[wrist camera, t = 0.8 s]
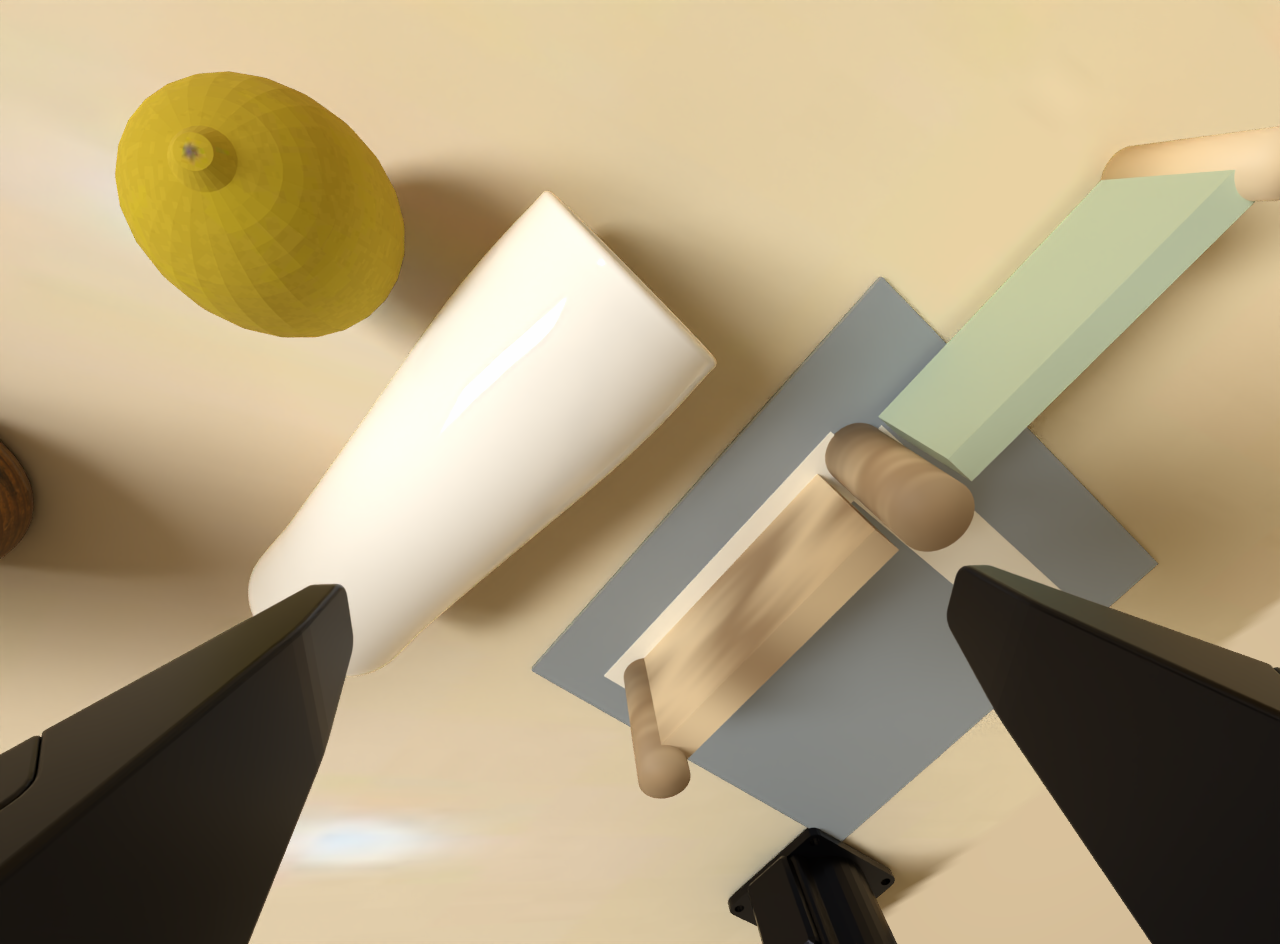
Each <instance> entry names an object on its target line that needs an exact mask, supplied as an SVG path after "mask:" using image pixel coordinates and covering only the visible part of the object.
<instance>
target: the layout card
mask: <svg viewBox="0 0 1280 944" xmlns="http://www.w3.org/2000/svg"><path fill="white" fill-rule="evenodd" d="M945 345H946V343H945V342H944V341H943V340H942V339H941V338H940V337H939V336H938V335H937V333H936V332H935V331H934V330H933V329H932V328H931V327H930V326H929V325H928V324H927V323H926V322H925V321H924V320H923V319H922V318H921V317H920V316H919V315H918V314H917V313H916V312H915V311H914V310H913V309H912V308H911V306H910V305H909V304H908V303H907V302H906V301H905V300H904V299H903V298H902V297H901V296H900V295H899V294H898V293H897V292H896V291H895V290H894V289H893V288H892V287H891V286H890V285H889V284H888V283H887V282H886V281H885V279H884V278H883V277H879V278H878V279H877V280H876V281H875V282H874V284H873V285H872V286H871V287H870V288H869V289H868V290H867V291H866V293H865V294H864V295H863V296H862V297H861V298H860V299H859V300H858V302H857V303H856V304H855V305H854V306H853V307H852V308H851V309H850V310H849V312H848V313H847V314H846V315H845V316H844V317H843V318H842V319H841V321H840V322H839V323H838V324H837V325H836V326H835V327H834V328H833V330H832V331H831V332H830V333H829V334H828V335H827V336H826V337H825V339H824V340H823V341H822V342H821V343H820V344H819V345H818V346H817V348H816V349H815V350H814V351H813V352H812V353H811V354H810V355H809V357H808V358H807V359H806V360H805V361H804V362H803V363H802V364H801V366H800V367H799V368H798V369H797V370H796V371H795V372H794V373H793V375H792V376H791V377H790V378H789V379H788V380H787V381H786V382H785V384H784V385H783V386H782V387H781V388H780V389H779V390H778V391H777V393H776V394H775V395H774V396H773V397H772V398H771V399H770V400H769V402H768V403H767V404H766V405H765V406H764V407H763V408H762V409H761V411H760V412H759V413H758V414H757V415H756V416H755V417H754V418H753V420H752V421H751V422H750V423H749V424H748V425H747V426H746V427H745V429H744V430H743V431H742V432H741V433H740V434H739V435H738V436H737V437H736V439H735V440H734V441H733V442H732V443H731V444H730V445H729V446H728V448H727V449H726V450H725V451H724V452H723V453H722V454H721V455H720V457H719V458H718V459H717V460H716V461H715V462H714V463H713V464H712V466H711V467H710V468H709V469H708V470H707V471H706V472H705V473H704V475H703V476H702V477H701V478H700V479H699V480H698V481H697V482H696V484H695V485H694V486H693V487H692V488H691V489H690V490H689V491H688V493H687V494H686V495H685V496H684V497H683V498H682V499H681V500H680V502H679V503H678V504H677V505H676V506H675V507H674V508H673V509H672V511H671V512H670V513H669V514H668V515H667V516H666V517H665V518H664V520H663V521H662V522H661V523H660V524H659V525H658V526H657V527H656V529H655V530H654V531H653V532H652V533H651V534H650V535H649V536H648V538H647V539H646V540H645V541H644V542H643V543H642V544H641V545H640V547H639V548H638V549H637V550H636V551H635V552H634V553H633V554H632V556H631V557H630V558H629V559H628V560H627V561H626V562H625V563H624V564H623V566H622V567H621V568H620V569H619V570H618V571H617V572H616V573H615V575H614V576H613V577H612V578H611V579H610V580H609V581H608V582H607V584H606V585H605V586H604V587H603V588H602V589H601V590H600V591H599V593H598V594H597V595H596V596H595V597H594V598H593V599H592V600H591V602H590V603H589V604H588V605H587V606H586V607H585V608H584V609H583V611H582V612H581V613H580V614H579V615H578V616H577V617H576V618H575V620H574V621H573V622H572V623H571V624H570V625H569V626H568V627H567V629H566V630H565V631H564V632H563V633H562V634H561V635H560V636H559V638H558V639H557V640H556V641H555V642H554V643H553V644H552V645H551V647H550V648H549V649H548V650H547V651H546V652H545V653H544V654H543V656H542V657H541V658H540V659H539V660H538V661H537V662H536V663H535V665H534V666H533V667H532V671H533V672H535V673H536V674H538V675H540V676H542V677H543V678H545V679H547V680H549V681H550V682H552V683H554V684H556V685H557V686H559V687H561V688H563V689H565V690H566V691H568V692H570V693H572V694H573V695H575V696H577V697H579V698H580V699H582V700H584V701H586V702H587V703H589V704H591V705H593V706H594V707H596V708H598V709H600V710H601V711H603V712H605V713H607V714H609V715H610V716H612V717H614V718H616V719H617V720H619V721H621V722H623V723H624V724H626V725H628V726H630V720H629V713H628V706H627V699H626V692H625V685H624V672H625V670H626V668H627V667H628V665H630V664H631V663H632V662H634V661H635V660H638V659H641V658H645V657H646V656H647V654H648V653H649V652H650V651H651V650H652V649H653V648H654V647H655V646H656V645H657V644H658V643H659V642H660V641H661V640H662V639H663V637H664V636H665V635H666V634H667V633H668V632H669V631H670V630H671V629H672V628H673V627H674V626H675V625H676V624H677V623H678V622H679V620H680V619H681V618H682V617H683V616H684V615H685V614H686V613H687V612H688V611H689V610H690V609H691V608H692V607H693V606H694V604H695V603H696V602H697V601H698V600H699V599H700V598H701V597H702V596H703V595H704V594H705V593H706V592H707V591H708V590H709V589H710V587H711V586H712V585H713V584H714V583H715V582H716V581H717V580H718V579H719V578H720V577H721V576H722V575H723V574H724V573H725V572H726V570H727V569H728V568H729V567H730V566H731V565H732V564H733V563H734V562H735V561H736V560H737V559H738V558H739V557H740V556H741V555H742V553H743V552H744V551H745V550H746V549H747V548H748V547H749V546H750V545H751V544H752V543H753V542H754V541H755V540H756V539H757V538H758V536H759V535H760V534H761V533H762V532H763V531H764V530H765V529H766V528H767V527H768V526H769V525H770V524H771V523H772V522H773V520H774V519H775V518H776V517H777V516H778V515H779V514H780V513H781V512H782V511H783V510H784V509H785V508H786V507H787V506H788V505H789V503H790V502H791V501H792V500H793V499H794V498H795V497H796V496H797V495H798V494H799V493H800V492H801V491H802V490H803V489H804V488H805V486H806V485H807V484H808V483H809V482H810V481H811V480H812V479H813V478H814V477H815V476H816V475H817V474H818V475H819V476H821V477H822V478H823V479H824V480H825V481H827V482H828V483H829V484H830V485H831V486H833V487H834V488H835V489H836V490H837V491H838V492H839V493H841V494H842V495H843V496H844V497H845V498H846V499H847V500H848V501H849V502H850V503H851V504H852V505H853V506H854V507H855V508H856V509H857V510H858V511H859V512H860V513H861V514H862V515H863V516H864V517H866V518H867V519H868V520H869V521H870V522H871V523H872V524H873V525H874V526H875V527H876V528H877V529H878V530H879V531H880V532H881V533H882V534H883V535H884V536H885V537H886V538H887V539H888V540H889V541H890V542H892V543H893V544H894V545H895V546H896V547H897V548H898V549H899V551H898V552H897V553H896V554H895V555H894V556H893V557H892V558H891V559H890V560H888V561H887V562H886V563H885V564H884V565H883V566H882V567H881V568H880V569H879V570H878V571H877V572H876V573H875V574H874V575H873V576H872V577H871V578H870V579H869V580H868V581H867V582H866V583H865V584H864V585H863V586H862V587H861V588H860V589H859V590H858V591H857V592H856V593H855V594H854V595H853V596H852V597H851V598H850V599H849V600H848V601H847V602H846V603H845V604H844V605H843V606H842V607H841V608H840V609H839V610H838V611H837V612H836V613H835V614H834V615H833V616H832V617H831V618H830V619H829V620H828V621H827V622H826V623H825V624H824V625H823V626H822V627H821V628H820V629H819V630H818V631H817V632H816V633H815V634H814V635H813V636H812V637H811V638H810V639H809V640H808V641H807V642H806V643H805V644H804V645H803V646H801V647H800V648H799V649H798V650H797V651H796V652H795V653H794V654H793V655H792V656H791V657H790V658H789V659H788V660H787V661H786V662H785V663H784V664H783V665H782V666H781V667H780V668H779V669H778V670H777V671H776V672H775V673H774V674H773V675H772V676H771V677H770V678H769V679H768V680H767V681H766V682H765V683H764V684H763V685H762V686H761V687H760V688H759V689H758V690H757V691H756V692H755V693H754V694H753V695H752V696H751V697H750V698H749V699H748V700H747V701H746V702H745V703H744V704H743V705H742V706H741V707H740V708H739V709H738V710H737V711H736V712H735V713H734V714H733V715H732V716H731V717H730V718H729V719H728V720H727V721H726V722H725V723H724V724H723V725H722V726H721V727H720V728H719V729H718V730H717V731H716V732H714V733H713V734H712V735H711V736H710V737H709V738H708V739H707V740H706V741H705V742H704V743H703V744H702V745H701V746H700V747H699V748H698V749H697V750H696V751H695V752H694V753H693V754H692V755H691V756H690V757H689V758H688V760H690V761H691V762H693V763H695V764H697V765H698V766H700V767H702V768H704V769H705V770H707V771H709V772H711V773H712V774H714V775H716V776H718V777H720V778H721V779H723V780H725V781H727V782H728V783H730V784H732V785H734V786H735V787H737V788H739V789H741V790H742V791H744V792H746V793H748V794H749V795H751V796H753V797H755V798H756V799H758V800H760V801H762V802H764V803H765V804H767V805H769V806H771V807H772V808H774V809H776V810H778V811H779V812H781V813H783V814H785V815H786V816H788V817H790V818H792V819H793V820H795V821H797V822H799V823H801V824H802V825H804V826H806V827H808V828H818V829H820V830H822V831H824V832H825V833H827V834H829V835H831V836H832V837H834V838H836V839H838V840H839V841H841V842H842V841H843V840H844V839H845V838H847V837H848V836H849V835H850V834H851V833H852V832H853V831H855V830H856V829H857V828H858V827H859V826H860V825H861V824H862V823H864V822H865V821H866V820H867V819H868V818H869V817H870V816H872V815H873V814H874V813H875V812H876V811H877V810H878V809H880V808H881V807H882V806H883V805H884V804H885V803H886V802H888V801H889V800H890V799H891V798H892V797H893V796H894V795H896V794H897V793H898V792H899V791H900V790H901V789H902V788H903V787H905V786H906V785H907V784H908V783H909V782H910V781H911V780H913V779H914V778H915V777H916V776H917V775H918V774H919V773H921V772H922V771H923V770H924V769H925V768H926V767H927V766H929V765H930V764H931V763H932V762H933V761H934V760H935V759H937V758H938V757H939V756H940V755H941V754H942V753H943V752H944V751H946V750H947V749H948V748H949V747H950V746H951V745H952V744H954V743H955V742H956V741H957V740H958V739H959V738H960V737H962V736H963V735H964V734H965V733H966V732H967V731H968V730H970V729H971V728H972V727H973V726H974V725H975V724H976V723H978V722H979V721H980V720H981V719H982V718H983V717H984V716H986V715H987V714H988V713H989V712H990V711H991V710H992V709H993V707H992V705H991V703H990V702H989V700H988V698H987V696H986V694H985V693H984V691H983V689H982V687H981V685H980V684H979V682H978V680H977V678H976V676H975V674H974V673H973V671H972V669H971V667H970V665H969V663H968V662H967V660H966V658H965V656H964V654H963V652H962V651H961V649H960V647H959V645H958V643H957V641H956V640H955V638H954V636H953V634H952V632H951V630H950V628H949V626H948V623H947V608H948V604H949V600H950V596H951V592H952V588H953V584H954V581H955V577H956V574H957V572H958V570H959V569H960V568H962V567H963V566H967V565H990V566H993V567H996V568H999V569H1002V570H1005V571H1007V572H1010V573H1013V574H1016V575H1019V576H1022V577H1024V578H1027V579H1030V580H1033V581H1036V582H1038V583H1041V584H1044V585H1047V586H1050V587H1053V588H1055V589H1058V590H1061V591H1064V592H1067V593H1070V594H1072V595H1075V596H1078V597H1081V598H1084V599H1087V600H1089V601H1092V602H1095V603H1098V604H1101V605H1103V606H1106V607H1110V606H1111V605H1112V604H1113V603H1114V602H1115V601H1117V600H1118V599H1119V598H1120V597H1121V596H1122V595H1123V594H1124V593H1126V592H1127V591H1128V590H1129V589H1130V588H1131V587H1132V586H1134V585H1135V584H1136V583H1137V582H1138V581H1139V580H1140V579H1142V578H1143V577H1144V576H1145V575H1146V574H1147V573H1148V572H1150V571H1151V570H1152V569H1153V568H1154V567H1155V566H1156V565H1158V563H1157V562H1156V561H1155V560H1154V559H1153V558H1152V557H1151V556H1150V555H1149V554H1148V552H1147V551H1146V550H1145V549H1144V548H1143V547H1142V546H1141V545H1140V544H1139V543H1138V542H1137V541H1136V540H1135V539H1134V538H1133V537H1132V536H1131V535H1130V534H1129V533H1128V532H1127V531H1126V530H1125V529H1124V528H1123V527H1122V526H1121V524H1120V523H1119V522H1118V521H1117V520H1116V519H1115V518H1114V517H1113V516H1112V515H1111V514H1110V513H1109V512H1108V511H1107V510H1106V509H1105V508H1104V507H1103V506H1102V505H1101V504H1100V503H1099V502H1098V501H1097V500H1096V499H1095V497H1094V496H1093V495H1092V494H1091V493H1090V492H1089V491H1088V490H1087V489H1086V488H1085V487H1084V486H1083V485H1082V484H1081V483H1080V482H1079V481H1078V480H1077V479H1076V478H1075V477H1074V476H1073V475H1072V474H1071V473H1070V472H1069V470H1068V469H1067V468H1066V467H1065V466H1064V465H1063V464H1062V463H1061V462H1060V461H1059V460H1058V459H1057V458H1056V457H1055V456H1054V455H1053V454H1052V453H1051V452H1050V451H1049V450H1048V449H1047V448H1046V447H1045V446H1044V445H1043V444H1042V442H1041V441H1040V440H1039V439H1038V438H1037V437H1036V436H1035V435H1034V434H1033V433H1032V432H1031V431H1030V430H1029V429H1028V428H1027V427H1026V428H1025V429H1024V430H1023V431H1022V432H1021V433H1020V434H1019V435H1018V436H1017V437H1016V438H1015V439H1014V440H1013V441H1012V442H1011V443H1010V444H1009V445H1008V446H1007V447H1006V448H1005V449H1004V450H1003V451H1002V452H1001V453H1000V454H999V455H998V456H997V457H996V458H995V459H994V460H993V461H992V462H991V463H990V464H989V465H988V466H987V467H986V468H985V469H984V470H983V471H982V472H981V473H980V474H979V475H978V476H977V477H976V478H975V479H974V480H973V481H970V480H969V479H967V478H965V477H964V476H962V475H961V474H959V473H957V472H956V471H954V470H953V469H951V468H949V467H948V466H946V465H945V464H943V463H941V462H940V461H938V460H937V459H935V458H933V457H932V456H930V455H929V454H927V453H926V452H924V451H922V450H921V449H919V448H918V447H916V446H914V445H913V444H911V443H910V442H908V441H906V440H905V439H903V438H902V437H900V436H898V435H897V434H896V433H895V432H894V431H893V430H892V429H891V428H890V427H889V426H888V425H887V424H886V423H884V422H883V421H882V420H881V419H880V418H879V417H878V416H879V415H880V414H881V413H882V412H883V411H884V410H885V409H886V408H887V407H888V406H889V405H890V403H891V402H892V401H893V400H894V399H895V398H896V397H897V396H898V395H899V394H900V393H901V392H902V391H903V390H904V389H905V388H906V387H907V385H908V384H909V383H910V382H911V381H912V380H913V379H914V378H915V377H916V376H917V375H918V374H919V373H920V372H921V371H922V370H923V369H924V367H925V366H926V365H927V364H928V363H929V362H930V361H931V360H932V359H933V358H934V357H935V356H936V355H937V354H938V353H939V352H940V350H941V349H942V348H943V347H944V346H945ZM853 423H867V424H870V425H872V426H874V427H876V428H877V429H879V430H880V431H882V432H883V433H885V434H887V435H888V436H890V437H891V438H893V439H894V440H896V441H897V442H899V443H900V444H902V445H904V446H905V447H907V448H908V449H910V450H911V451H913V452H914V453H916V454H917V455H919V456H921V457H922V458H924V459H925V460H927V461H928V462H930V463H931V464H933V465H935V466H936V467H938V468H939V469H941V470H942V471H944V472H945V473H947V474H948V475H950V476H952V477H953V478H955V479H956V480H958V481H959V482H961V483H962V484H964V485H965V486H966V487H967V488H968V489H969V490H970V492H971V493H972V496H973V498H974V504H975V510H974V516H973V519H972V521H971V524H970V526H969V527H968V529H967V530H966V532H965V533H964V534H963V535H962V536H961V537H960V538H959V539H958V540H957V541H956V542H954V543H953V544H951V545H950V546H948V547H946V548H943V549H941V550H937V551H932V552H923V551H918V550H915V549H913V548H911V547H909V546H908V545H907V544H905V543H904V542H903V541H902V540H901V539H900V538H899V537H898V536H897V535H896V534H895V533H894V532H892V531H891V530H890V529H889V528H888V527H887V526H886V525H885V524H884V523H883V522H882V521H881V520H879V519H878V518H877V517H876V516H875V515H874V514H873V513H872V512H871V511H870V510H869V509H868V508H867V507H865V506H864V505H863V504H862V503H861V502H860V501H859V500H858V499H857V498H856V497H855V496H854V495H852V494H851V493H850V492H849V491H848V490H847V489H846V488H845V487H844V486H843V485H842V484H841V483H839V482H838V481H837V480H836V479H835V478H834V477H833V476H832V475H831V474H830V473H829V471H828V469H827V467H826V463H825V453H826V449H827V446H828V444H829V442H830V440H831V439H832V438H833V436H834V434H835V433H836V432H837V431H839V430H840V429H841V428H843V427H845V426H847V425H850V424H853Z"/></svg>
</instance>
